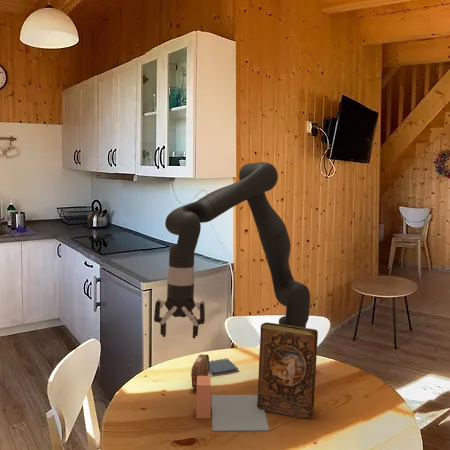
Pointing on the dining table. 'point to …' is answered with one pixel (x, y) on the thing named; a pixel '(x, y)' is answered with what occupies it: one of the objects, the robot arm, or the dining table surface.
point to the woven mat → (222, 367)
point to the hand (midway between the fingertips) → (179, 336)
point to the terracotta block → (203, 397)
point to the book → (287, 369)
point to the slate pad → (237, 413)
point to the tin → (200, 369)
